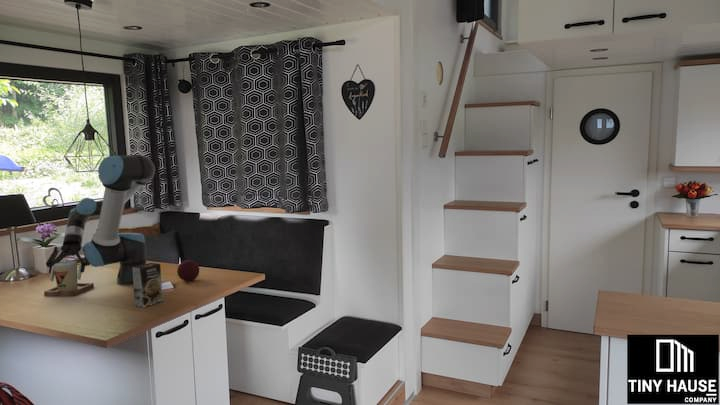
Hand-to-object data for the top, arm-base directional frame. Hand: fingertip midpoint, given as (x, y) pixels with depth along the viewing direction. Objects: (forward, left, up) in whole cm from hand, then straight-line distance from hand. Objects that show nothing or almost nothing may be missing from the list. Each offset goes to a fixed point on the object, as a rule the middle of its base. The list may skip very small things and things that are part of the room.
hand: (65, 279), depth 236 cm
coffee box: (-45, +12, -7) cm, 47 cm away
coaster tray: (+1, -3, -7) cm, 7 cm away
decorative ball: (-46, -23, -7) cm, 52 cm away
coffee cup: (+1, -3, -6) cm, 7 cm away
